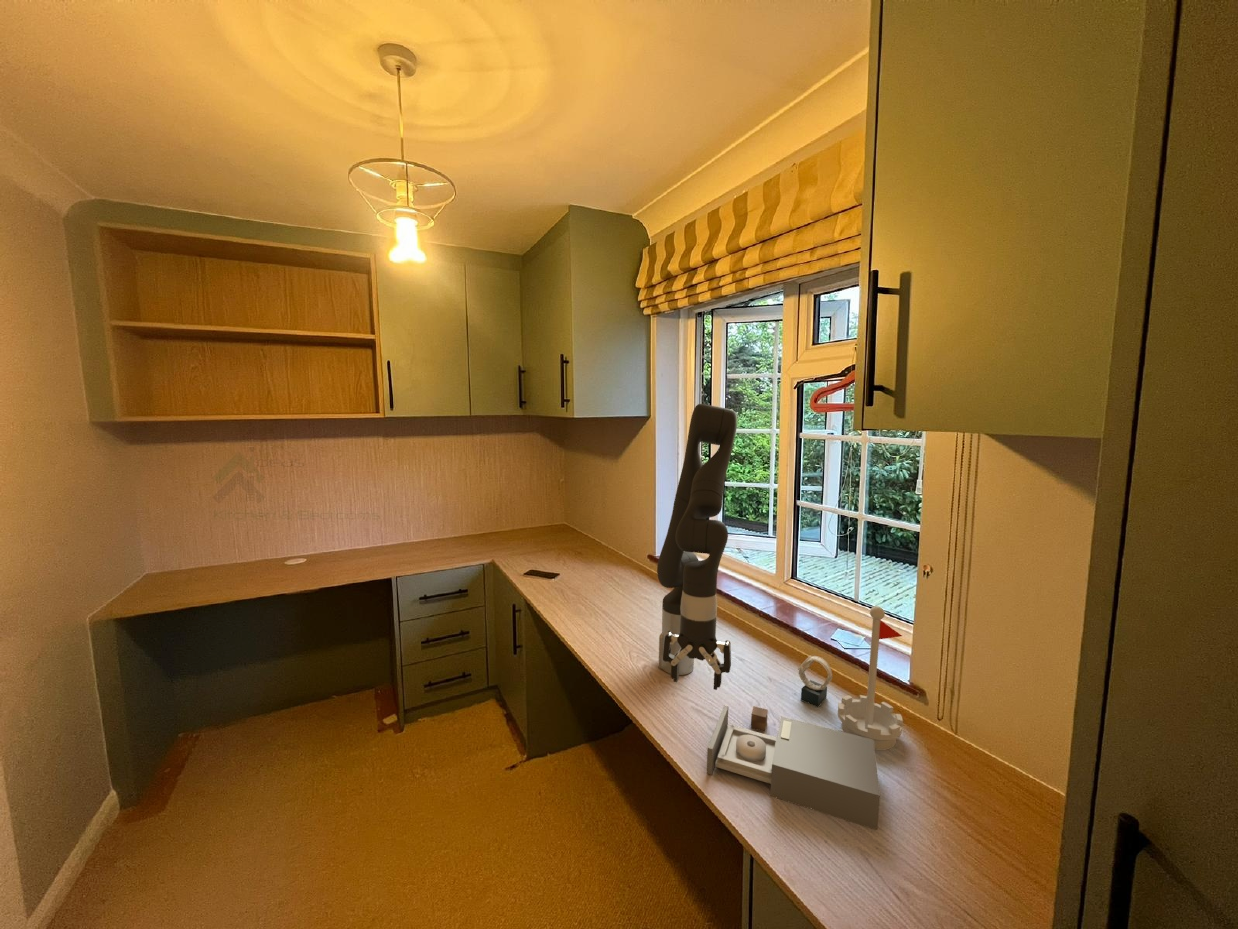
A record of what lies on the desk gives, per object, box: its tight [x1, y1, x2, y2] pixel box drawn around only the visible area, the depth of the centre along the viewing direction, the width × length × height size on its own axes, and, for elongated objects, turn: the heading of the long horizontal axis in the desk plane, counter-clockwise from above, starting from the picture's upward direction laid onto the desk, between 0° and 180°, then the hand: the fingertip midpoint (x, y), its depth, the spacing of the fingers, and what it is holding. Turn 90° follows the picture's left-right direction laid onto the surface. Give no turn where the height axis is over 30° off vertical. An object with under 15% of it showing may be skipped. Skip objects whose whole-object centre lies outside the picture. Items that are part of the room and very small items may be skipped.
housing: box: [769, 715, 881, 830], centre depth 96 cm, size 18×16×7 cm
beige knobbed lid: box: [736, 735, 766, 762], centre depth 102 cm, size 6×6×2 cm
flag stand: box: [837, 605, 904, 751], centre depth 110 cm, size 13×13×30 cm
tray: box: [706, 705, 777, 785], centre depth 101 cm, size 18×16×6 cm
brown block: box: [750, 706, 769, 733], centre depth 113 cm, size 3×3×4 cm
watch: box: [797, 655, 833, 708], centre depth 124 cm, size 6×8×11 cm
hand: (695, 684), depth 105 cm, fingers open, 8 cm apart
